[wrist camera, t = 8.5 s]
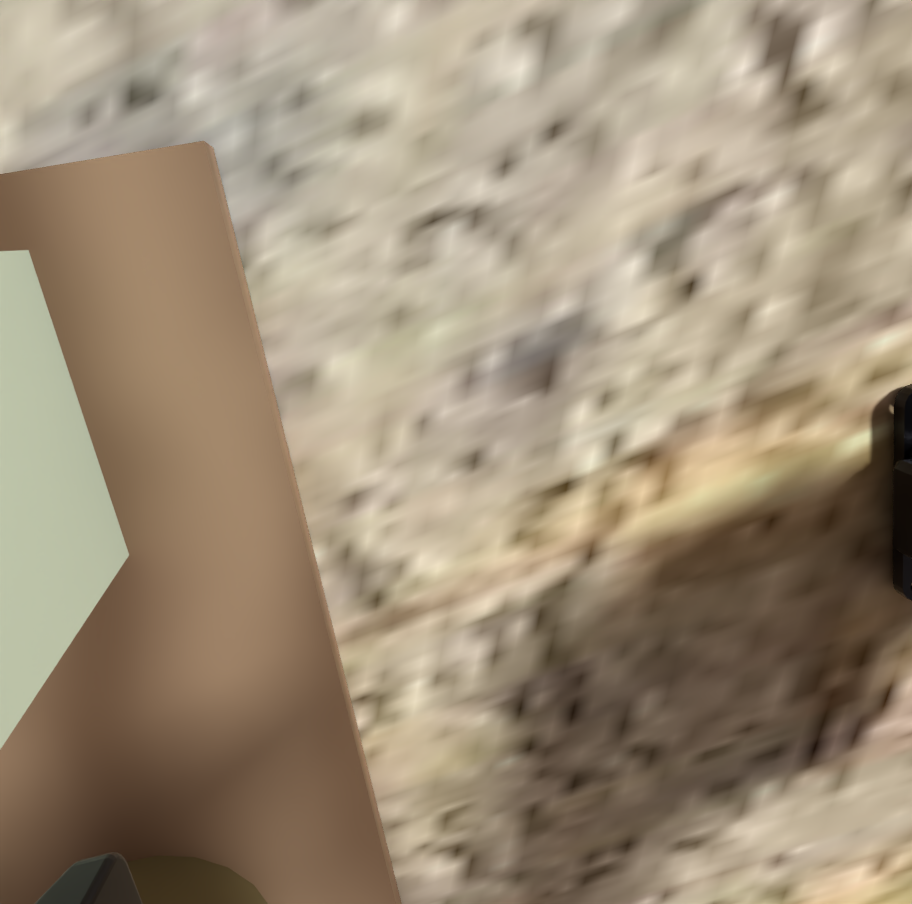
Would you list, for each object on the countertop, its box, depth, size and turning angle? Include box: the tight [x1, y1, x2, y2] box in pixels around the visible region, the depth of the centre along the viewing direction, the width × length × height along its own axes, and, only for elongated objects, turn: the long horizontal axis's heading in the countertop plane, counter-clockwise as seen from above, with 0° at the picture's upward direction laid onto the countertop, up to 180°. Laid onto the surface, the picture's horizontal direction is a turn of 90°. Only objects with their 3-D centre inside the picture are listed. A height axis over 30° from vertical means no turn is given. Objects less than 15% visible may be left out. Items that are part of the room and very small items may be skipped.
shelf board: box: [0, 141, 401, 904], centre depth 19 cm, size 11×28×3 cm, turn 10°
